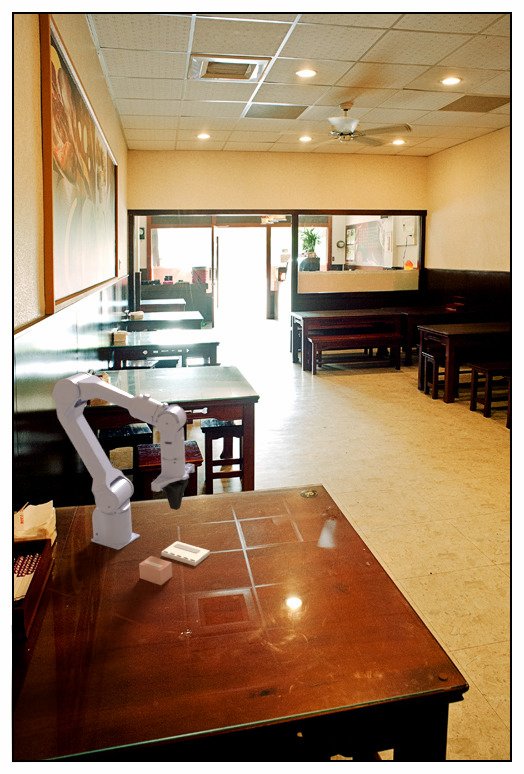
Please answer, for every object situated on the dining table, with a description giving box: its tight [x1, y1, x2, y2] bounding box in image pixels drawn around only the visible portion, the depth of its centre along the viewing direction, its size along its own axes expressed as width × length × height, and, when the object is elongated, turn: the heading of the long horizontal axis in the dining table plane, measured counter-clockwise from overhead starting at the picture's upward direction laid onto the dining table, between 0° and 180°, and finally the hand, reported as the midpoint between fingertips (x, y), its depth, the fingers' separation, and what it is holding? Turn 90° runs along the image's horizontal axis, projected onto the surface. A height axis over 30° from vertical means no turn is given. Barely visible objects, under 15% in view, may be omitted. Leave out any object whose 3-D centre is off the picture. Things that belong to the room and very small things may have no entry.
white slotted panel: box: [161, 540, 211, 567], centre depth 135 cm, size 10×6×1 cm, turn 61°
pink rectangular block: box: [138, 555, 173, 586], centre depth 125 cm, size 6×4×4 cm, turn 61°
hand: (175, 508), depth 138 cm, fingers closed
